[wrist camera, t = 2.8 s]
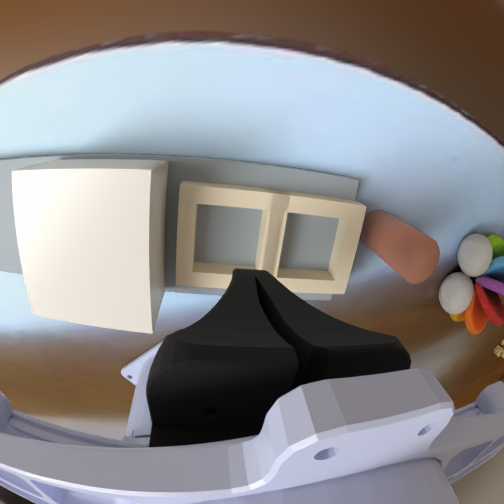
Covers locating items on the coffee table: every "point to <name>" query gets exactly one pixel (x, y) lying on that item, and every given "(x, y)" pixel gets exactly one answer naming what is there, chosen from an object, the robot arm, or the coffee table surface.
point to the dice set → (499, 350)
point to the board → (236, 223)
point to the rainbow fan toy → (476, 283)
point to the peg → (400, 246)
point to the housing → (93, 240)
